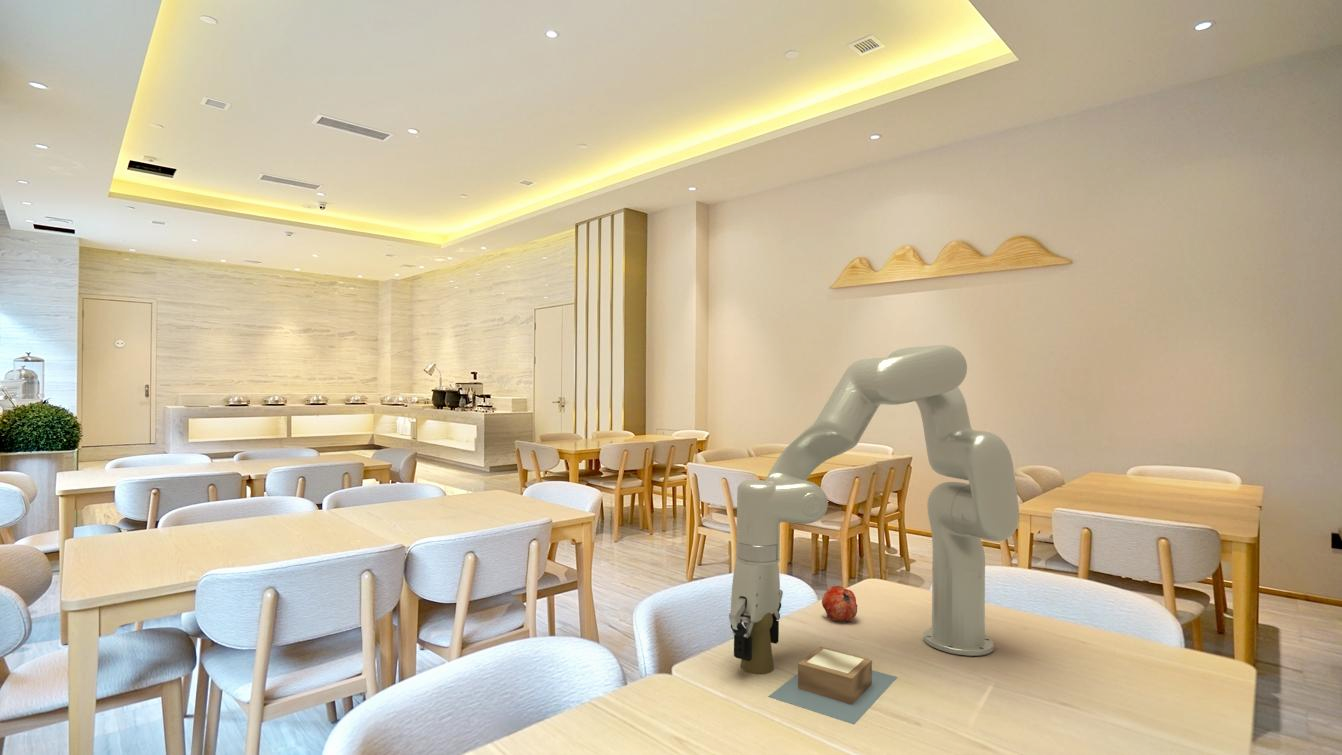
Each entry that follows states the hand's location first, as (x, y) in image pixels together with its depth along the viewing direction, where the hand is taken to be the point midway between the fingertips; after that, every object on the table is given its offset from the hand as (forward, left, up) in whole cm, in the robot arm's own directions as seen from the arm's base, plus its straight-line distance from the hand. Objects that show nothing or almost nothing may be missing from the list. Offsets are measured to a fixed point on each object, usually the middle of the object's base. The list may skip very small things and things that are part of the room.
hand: (756, 649), depth 115 cm
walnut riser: (-1, +14, -3) cm, 14 cm away
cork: (0, 0, -4) cm, 4 cm away
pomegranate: (-35, +1, -4) cm, 35 cm away
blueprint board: (-1, +14, -4) cm, 15 cm away
